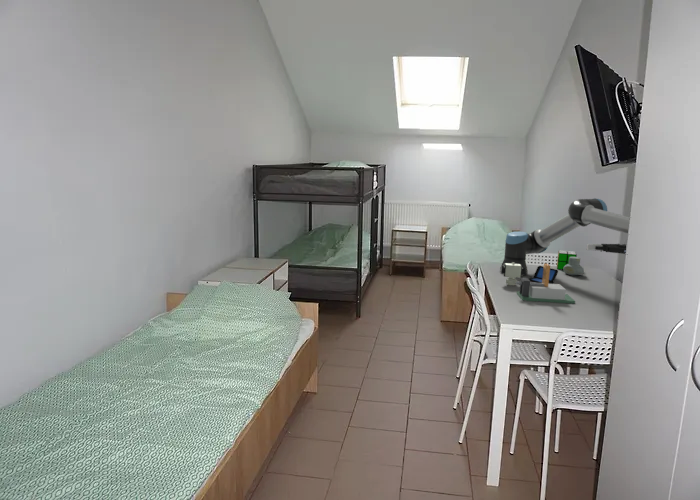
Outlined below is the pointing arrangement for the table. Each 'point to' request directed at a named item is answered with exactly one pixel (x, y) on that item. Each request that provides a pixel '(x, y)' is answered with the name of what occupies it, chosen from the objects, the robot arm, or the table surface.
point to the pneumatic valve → (512, 272)
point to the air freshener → (573, 267)
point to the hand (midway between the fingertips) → (587, 246)
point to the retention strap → (544, 280)
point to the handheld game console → (539, 275)
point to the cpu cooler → (543, 293)
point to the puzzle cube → (564, 258)
